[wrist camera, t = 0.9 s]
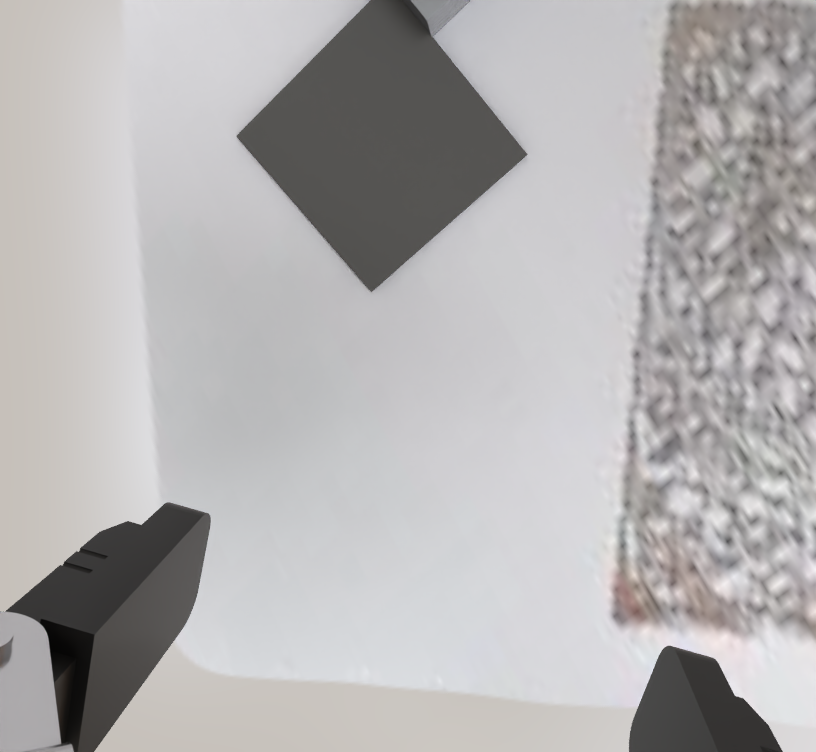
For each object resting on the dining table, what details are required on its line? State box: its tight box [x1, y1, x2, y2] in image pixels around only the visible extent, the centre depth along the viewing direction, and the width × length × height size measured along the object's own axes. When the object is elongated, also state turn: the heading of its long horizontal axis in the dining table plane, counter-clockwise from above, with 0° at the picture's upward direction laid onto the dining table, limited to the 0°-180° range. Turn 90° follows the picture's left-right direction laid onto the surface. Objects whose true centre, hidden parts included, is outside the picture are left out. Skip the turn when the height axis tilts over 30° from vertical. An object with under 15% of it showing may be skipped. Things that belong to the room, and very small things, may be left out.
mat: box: [237, 0, 527, 292], centre depth 33 cm, size 10×10×1 cm
